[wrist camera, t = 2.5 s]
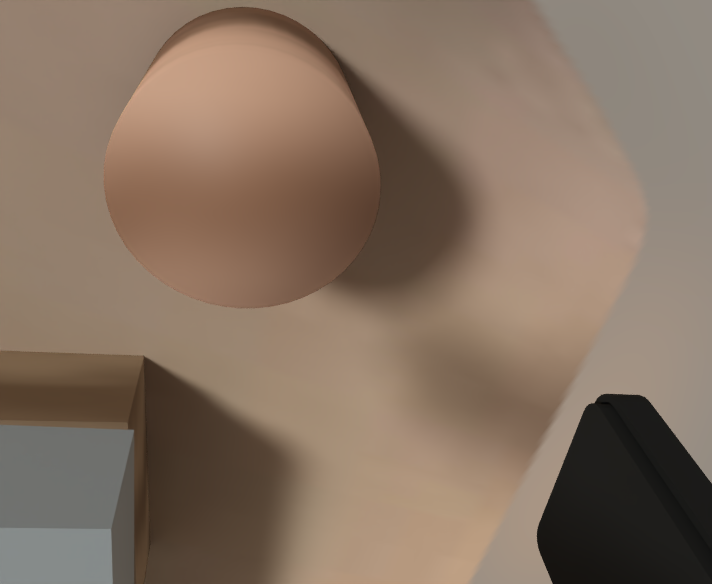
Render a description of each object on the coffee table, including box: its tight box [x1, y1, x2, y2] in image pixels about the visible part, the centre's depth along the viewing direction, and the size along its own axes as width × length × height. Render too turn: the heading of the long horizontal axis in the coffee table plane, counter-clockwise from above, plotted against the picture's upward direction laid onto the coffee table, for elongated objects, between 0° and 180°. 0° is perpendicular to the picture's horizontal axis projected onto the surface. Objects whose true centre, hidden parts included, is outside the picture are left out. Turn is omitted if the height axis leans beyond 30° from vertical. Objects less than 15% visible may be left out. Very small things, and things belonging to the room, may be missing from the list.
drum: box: [104, 7, 381, 308], centre depth 18 cm, size 6×6×6 cm
